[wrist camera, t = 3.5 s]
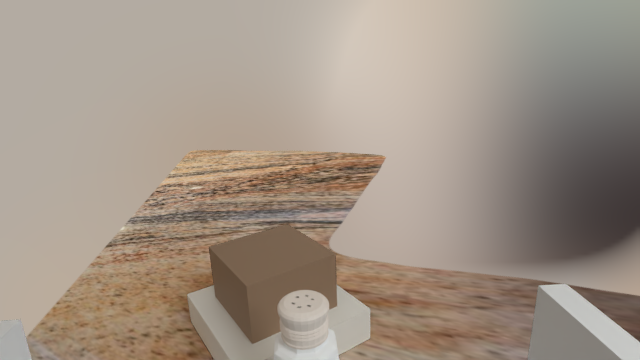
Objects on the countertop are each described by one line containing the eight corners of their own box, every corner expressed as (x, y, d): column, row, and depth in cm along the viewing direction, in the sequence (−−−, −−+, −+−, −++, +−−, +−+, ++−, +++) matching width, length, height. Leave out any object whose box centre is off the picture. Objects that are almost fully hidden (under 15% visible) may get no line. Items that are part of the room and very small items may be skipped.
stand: (298, 280, 44) (294, 213, 42) (370, 338, 35) (370, 255, 32) (191, 321, 38) (179, 245, 36) (242, 406, 28) (230, 309, 26)
